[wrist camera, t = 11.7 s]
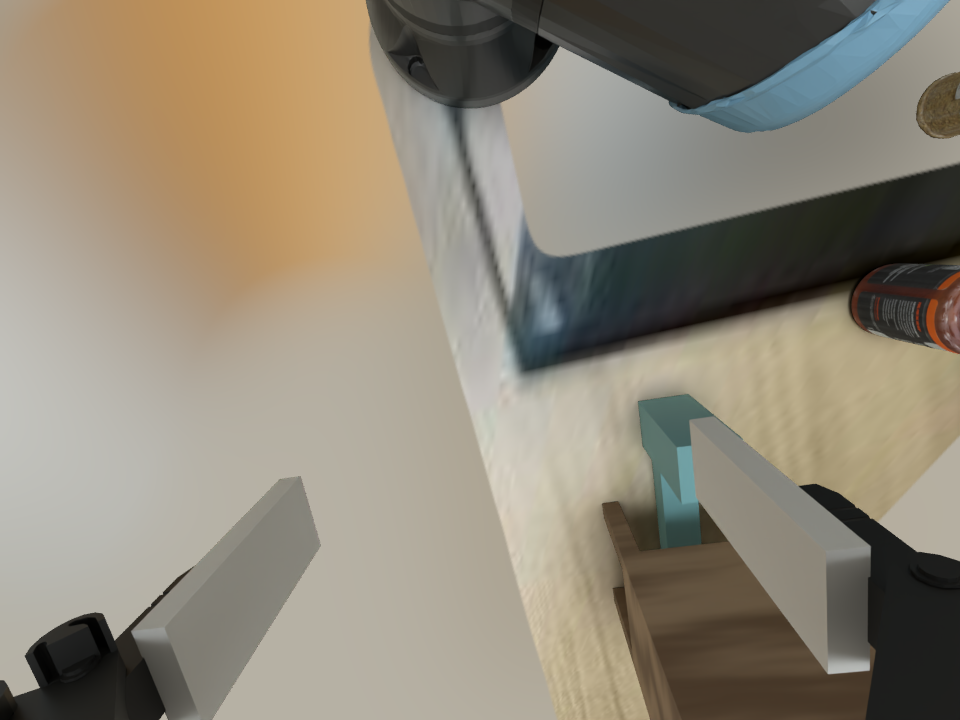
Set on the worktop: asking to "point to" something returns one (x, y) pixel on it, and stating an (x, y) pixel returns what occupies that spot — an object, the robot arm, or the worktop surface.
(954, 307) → the supplement bottle
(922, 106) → the sprinkles bottle
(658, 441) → the teal stepped block
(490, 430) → the worktop surface
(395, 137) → the worktop surface
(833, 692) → the cabinet
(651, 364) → the worktop surface
